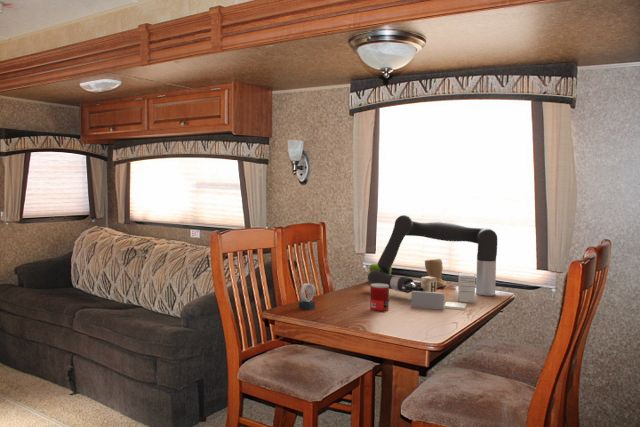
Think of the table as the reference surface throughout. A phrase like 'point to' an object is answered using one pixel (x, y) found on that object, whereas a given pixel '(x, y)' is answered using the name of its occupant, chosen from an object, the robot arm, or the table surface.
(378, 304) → the canned food
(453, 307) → the mat
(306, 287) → the snow globe
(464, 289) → the supplement box
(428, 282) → the marked block
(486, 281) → the robot arm
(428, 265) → the tan boot
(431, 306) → the screen
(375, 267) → the apple
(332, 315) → the table surface
